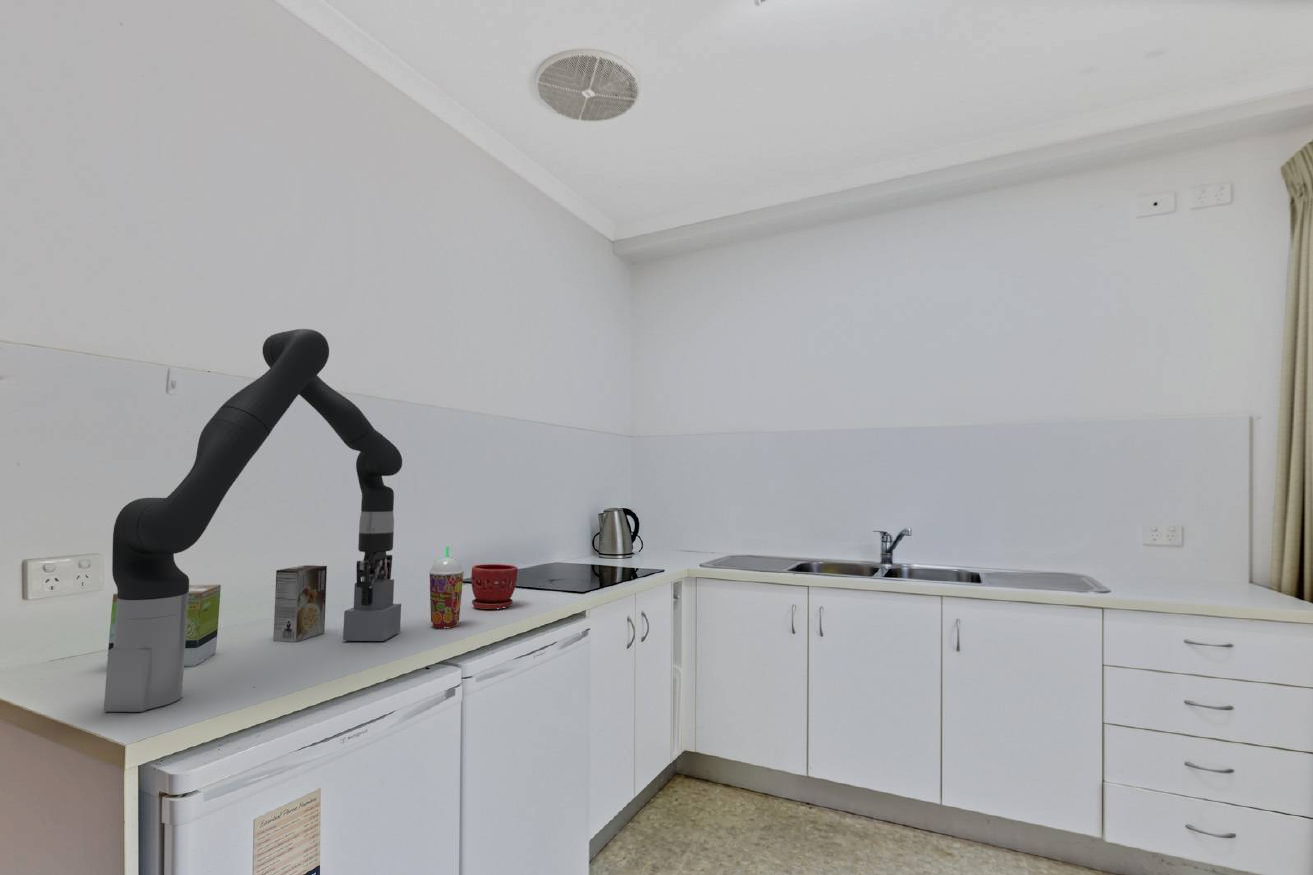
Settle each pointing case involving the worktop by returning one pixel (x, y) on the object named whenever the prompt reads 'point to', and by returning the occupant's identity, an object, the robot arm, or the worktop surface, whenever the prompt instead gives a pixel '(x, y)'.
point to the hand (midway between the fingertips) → (373, 602)
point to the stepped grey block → (373, 614)
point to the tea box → (193, 623)
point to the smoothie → (445, 591)
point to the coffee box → (300, 603)
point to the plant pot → (493, 585)
